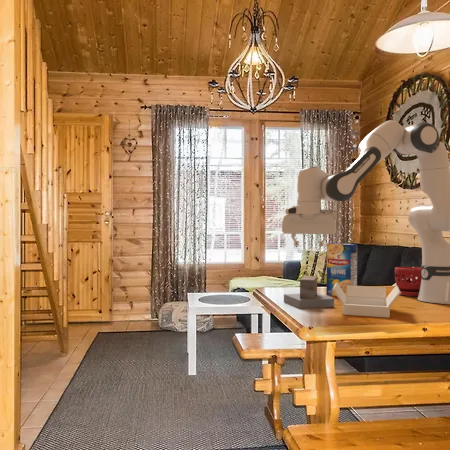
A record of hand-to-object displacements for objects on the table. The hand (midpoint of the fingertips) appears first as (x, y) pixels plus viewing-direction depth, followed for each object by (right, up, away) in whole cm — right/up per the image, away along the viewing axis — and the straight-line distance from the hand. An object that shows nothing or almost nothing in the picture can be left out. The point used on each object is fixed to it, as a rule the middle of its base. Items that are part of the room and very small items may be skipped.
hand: (308, 246), depth 178 cm
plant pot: (+49, -23, +26) cm, 59 cm away
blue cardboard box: (+18, -22, +23) cm, 37 cm away
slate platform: (0, -22, 0) cm, 22 cm away
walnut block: (0, -19, 0) cm, 19 cm away
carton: (+18, -22, -11) cm, 31 cm away
